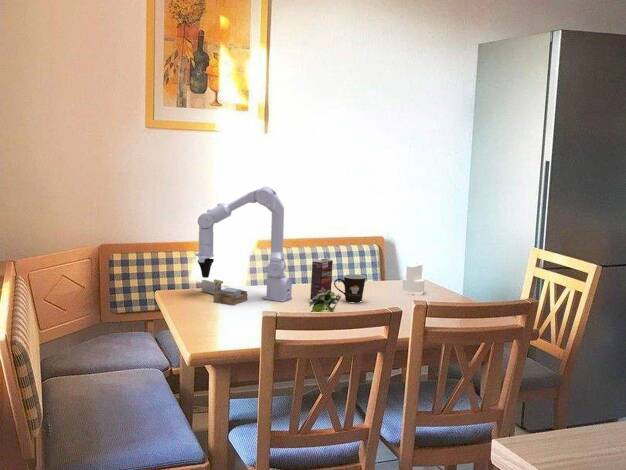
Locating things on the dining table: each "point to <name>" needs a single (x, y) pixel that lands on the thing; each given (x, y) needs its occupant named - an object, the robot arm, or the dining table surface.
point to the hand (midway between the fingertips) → (205, 277)
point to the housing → (230, 298)
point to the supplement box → (321, 276)
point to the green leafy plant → (324, 301)
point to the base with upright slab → (413, 279)
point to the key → (211, 286)
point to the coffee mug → (353, 287)
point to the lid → (231, 291)
